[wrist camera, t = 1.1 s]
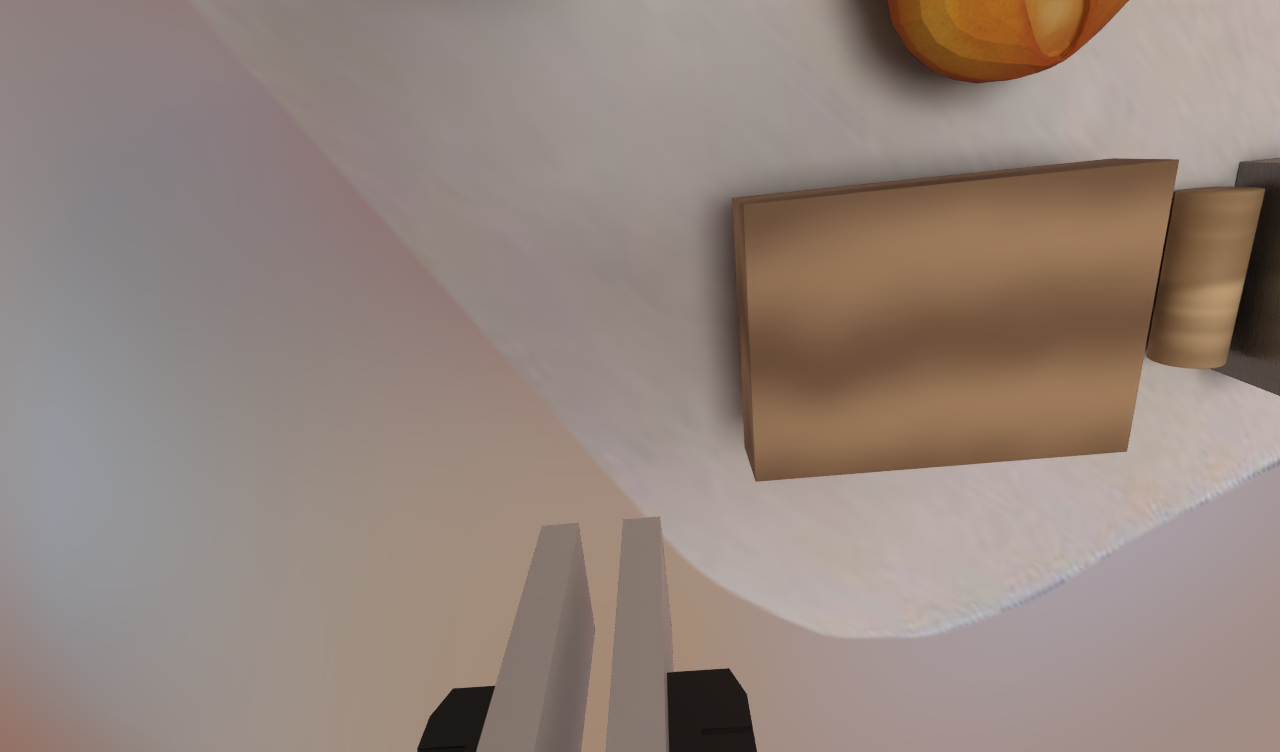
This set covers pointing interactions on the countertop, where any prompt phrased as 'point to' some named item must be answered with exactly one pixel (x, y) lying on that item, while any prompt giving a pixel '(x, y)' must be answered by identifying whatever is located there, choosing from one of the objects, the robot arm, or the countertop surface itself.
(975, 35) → the cheeseburger
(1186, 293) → the cylinder
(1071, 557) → the countertop surface
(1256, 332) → the stop rail
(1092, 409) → the board
